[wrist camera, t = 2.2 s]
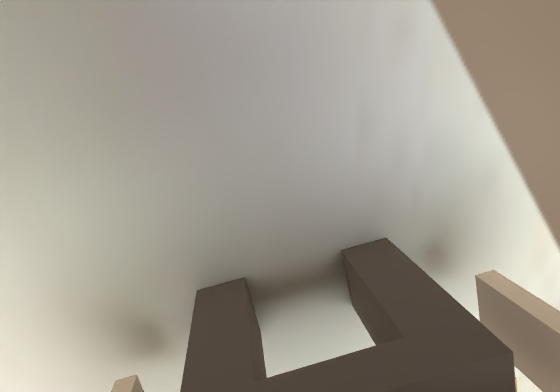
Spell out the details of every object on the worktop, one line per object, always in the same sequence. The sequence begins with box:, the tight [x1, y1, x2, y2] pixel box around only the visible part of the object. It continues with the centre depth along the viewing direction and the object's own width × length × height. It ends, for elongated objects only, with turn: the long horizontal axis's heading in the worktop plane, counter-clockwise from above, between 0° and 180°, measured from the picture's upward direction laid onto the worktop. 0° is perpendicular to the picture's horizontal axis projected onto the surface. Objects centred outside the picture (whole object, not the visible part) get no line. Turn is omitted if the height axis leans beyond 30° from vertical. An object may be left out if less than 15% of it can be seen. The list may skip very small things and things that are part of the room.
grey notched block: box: [180, 238, 516, 392], centre depth 14 cm, size 9×3×8 cm, turn 104°
